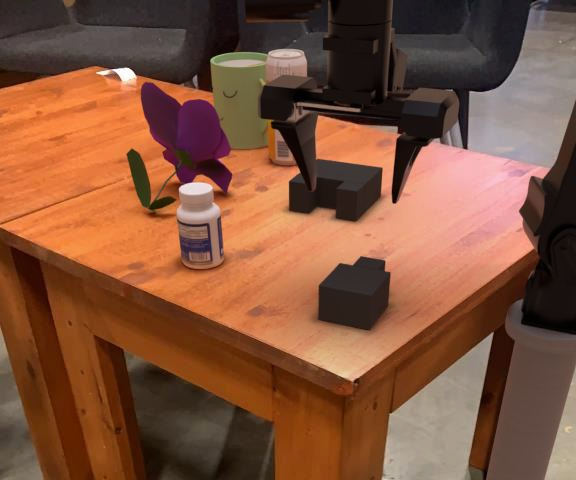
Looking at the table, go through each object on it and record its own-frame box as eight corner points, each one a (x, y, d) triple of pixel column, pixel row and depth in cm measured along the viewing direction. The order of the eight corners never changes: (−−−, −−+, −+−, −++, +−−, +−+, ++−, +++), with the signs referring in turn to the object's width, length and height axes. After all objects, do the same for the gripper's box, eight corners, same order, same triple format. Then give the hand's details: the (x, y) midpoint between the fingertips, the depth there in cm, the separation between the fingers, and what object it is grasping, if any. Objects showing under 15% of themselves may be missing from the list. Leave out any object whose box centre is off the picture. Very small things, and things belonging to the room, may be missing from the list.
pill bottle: (202, 248, 98) (196, 176, 92) (232, 259, 95) (228, 186, 89) (172, 262, 95) (163, 189, 89) (203, 274, 92) (196, 199, 86)
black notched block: (381, 196, 110) (382, 167, 107) (355, 221, 104) (357, 191, 101) (317, 186, 113) (317, 158, 111) (289, 210, 107) (288, 181, 104)
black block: (395, 295, 87) (398, 262, 85) (369, 330, 82) (371, 295, 79) (347, 286, 89) (348, 253, 87) (318, 319, 84) (318, 285, 81)
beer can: (308, 154, 124) (308, 48, 114) (305, 166, 120) (305, 58, 110) (271, 153, 125) (268, 48, 115) (266, 166, 120) (263, 57, 110)
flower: (208, 254, 108) (254, 183, 111) (164, 172, 95) (218, 93, 98) (131, 233, 114) (177, 165, 117) (79, 153, 101) (133, 79, 104)
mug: (203, 138, 131) (196, 59, 123) (252, 126, 135) (249, 49, 127) (245, 157, 123) (241, 74, 115) (296, 144, 128) (295, 63, 120)
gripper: (484, 9, 71) (462, 182, 82) (301, -2, 77) (302, 160, 87) (452, 33, 64) (431, 220, 74) (251, 19, 70) (259, 194, 80)
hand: (353, 196), depth 79 cm, fingers open, 9 cm apart
